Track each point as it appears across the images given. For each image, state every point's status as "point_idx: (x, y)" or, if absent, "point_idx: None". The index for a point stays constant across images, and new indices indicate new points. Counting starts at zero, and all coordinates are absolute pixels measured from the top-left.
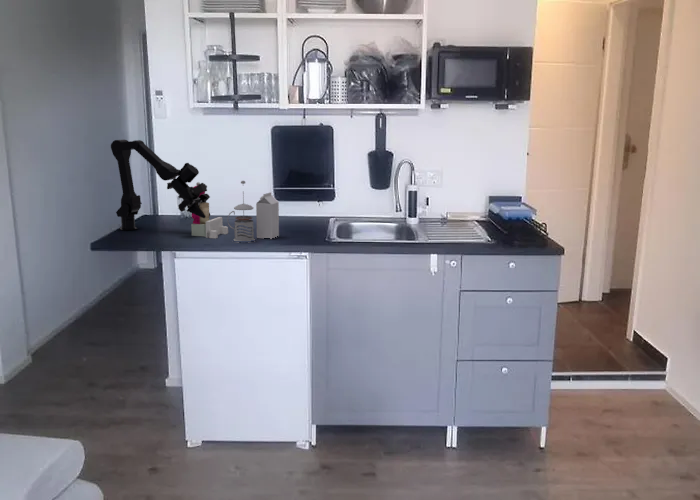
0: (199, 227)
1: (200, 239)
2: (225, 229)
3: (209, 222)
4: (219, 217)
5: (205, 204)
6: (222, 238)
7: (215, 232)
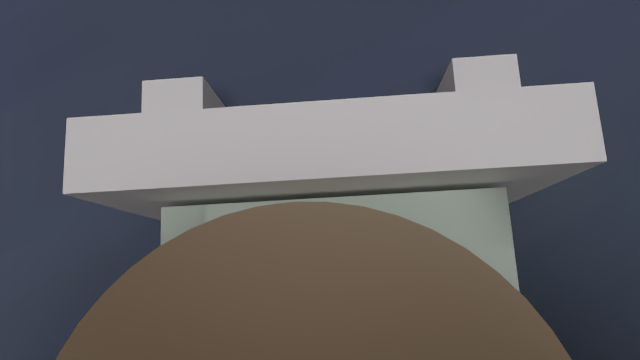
0: None
1: (613, 219)
2: (210, 95)
3: (588, 86)
4: (101, 154)
5: (497, 279)
6: (449, 29)
7: (510, 59)
